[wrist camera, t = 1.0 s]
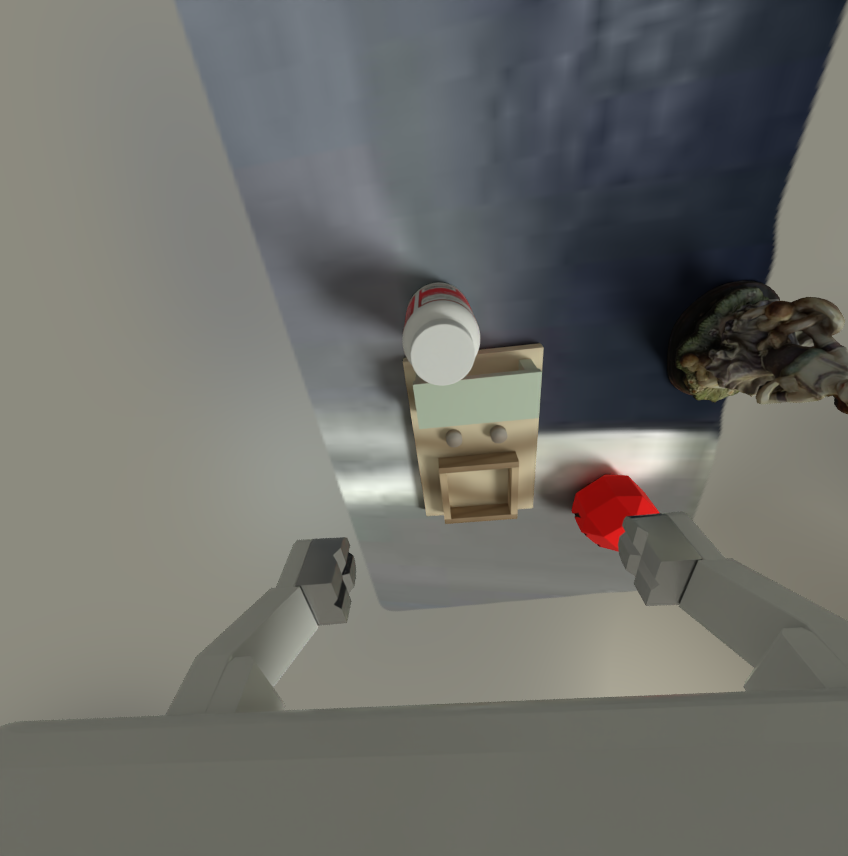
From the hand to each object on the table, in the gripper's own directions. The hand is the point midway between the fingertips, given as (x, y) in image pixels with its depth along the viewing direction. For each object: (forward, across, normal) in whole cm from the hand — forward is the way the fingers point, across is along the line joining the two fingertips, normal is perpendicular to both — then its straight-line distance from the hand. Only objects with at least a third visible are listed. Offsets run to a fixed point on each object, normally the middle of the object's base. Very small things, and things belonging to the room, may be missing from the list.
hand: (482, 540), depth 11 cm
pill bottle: (+28, +1, 0) cm, 28 cm away
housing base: (+28, -2, +15) cm, 32 cm away
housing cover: (+27, -2, +8) cm, 28 cm away
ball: (+29, -18, +25) cm, 42 cm away
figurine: (+28, -27, +6) cm, 40 cm away
